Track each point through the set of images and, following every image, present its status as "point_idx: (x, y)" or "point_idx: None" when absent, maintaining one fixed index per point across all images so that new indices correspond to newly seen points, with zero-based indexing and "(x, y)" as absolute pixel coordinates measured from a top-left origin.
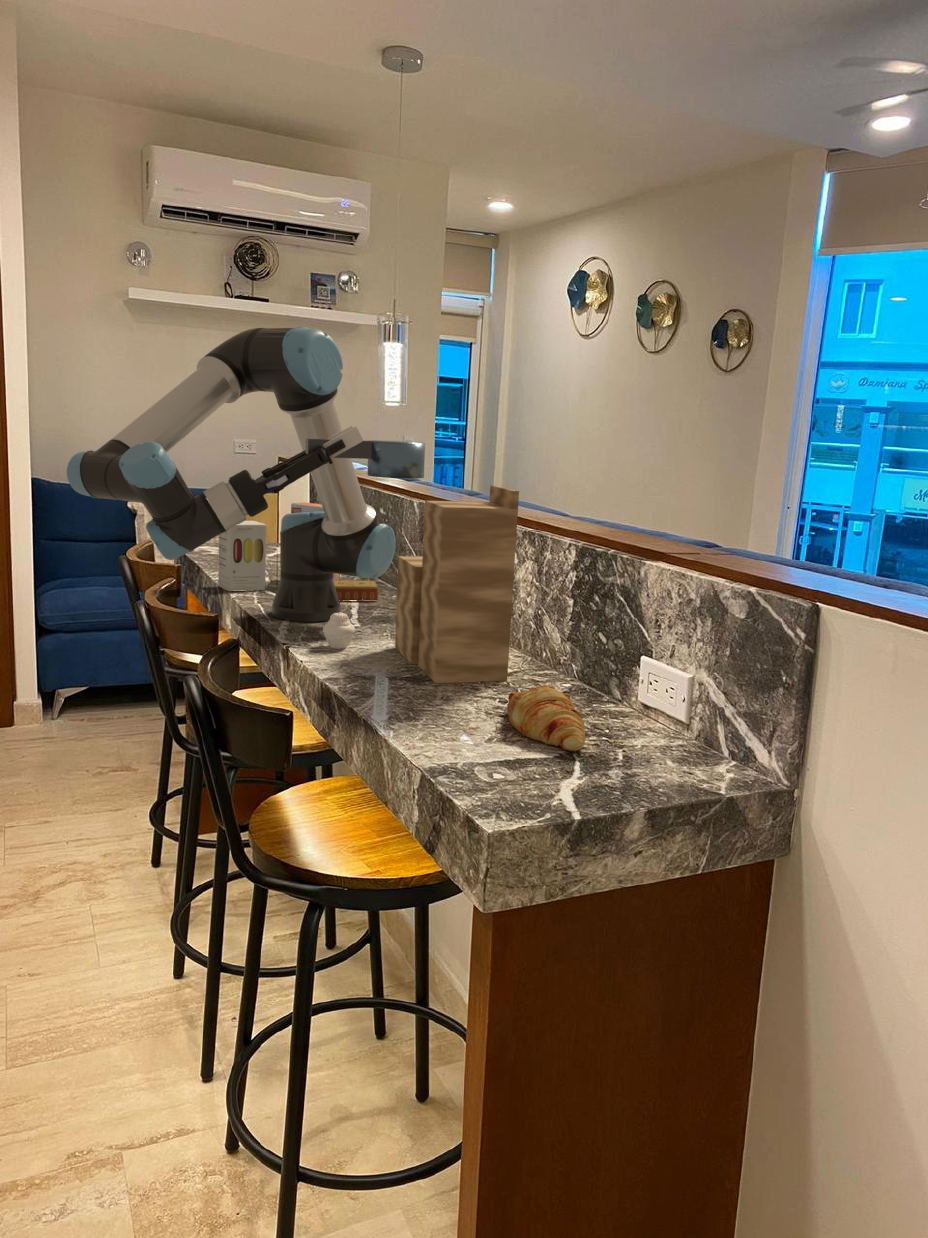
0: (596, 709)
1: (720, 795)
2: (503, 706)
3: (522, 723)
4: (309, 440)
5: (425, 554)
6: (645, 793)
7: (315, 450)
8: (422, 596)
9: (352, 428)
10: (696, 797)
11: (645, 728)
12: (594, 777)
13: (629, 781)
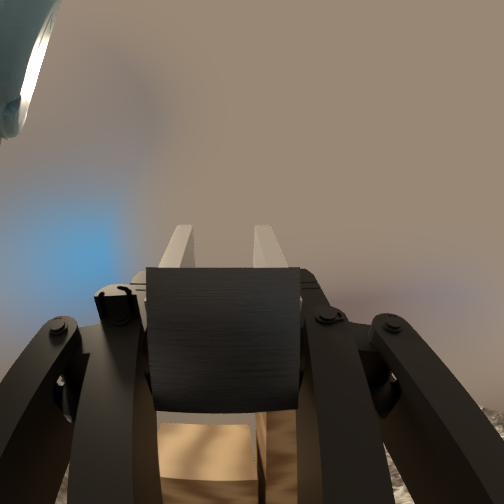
0: (386, 450)
1: (484, 407)
2: (403, 488)
3: None
4: (298, 279)
5: (283, 455)
6: (500, 419)
7: (340, 342)
8: (274, 500)
9: (269, 230)
10: (492, 411)
11: None
12: (498, 432)
13: (493, 425)
